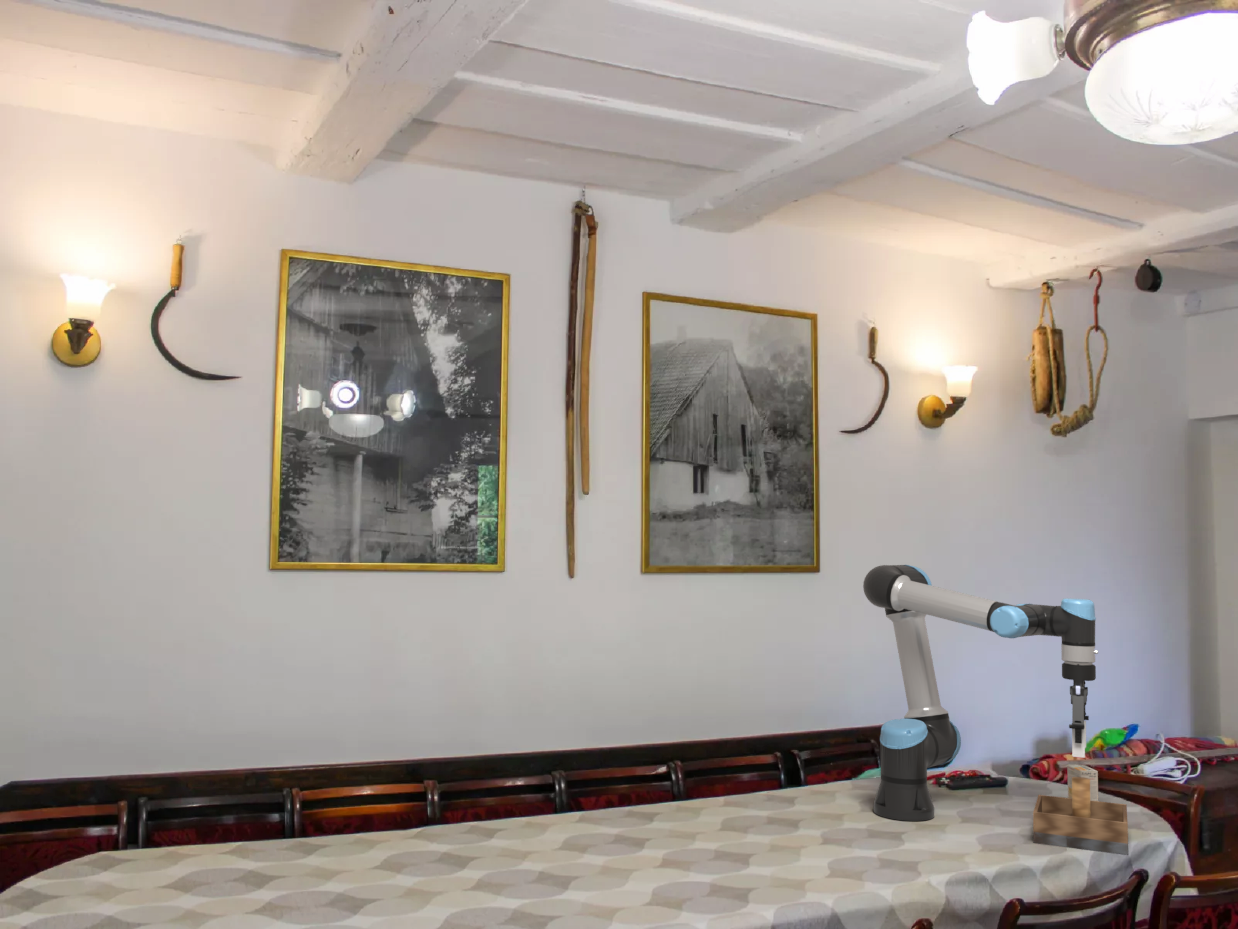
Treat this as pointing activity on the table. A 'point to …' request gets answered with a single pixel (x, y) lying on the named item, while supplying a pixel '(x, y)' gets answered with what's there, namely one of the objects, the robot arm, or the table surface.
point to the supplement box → (1086, 773)
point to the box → (1081, 825)
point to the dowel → (1081, 797)
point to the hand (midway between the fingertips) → (1079, 752)
